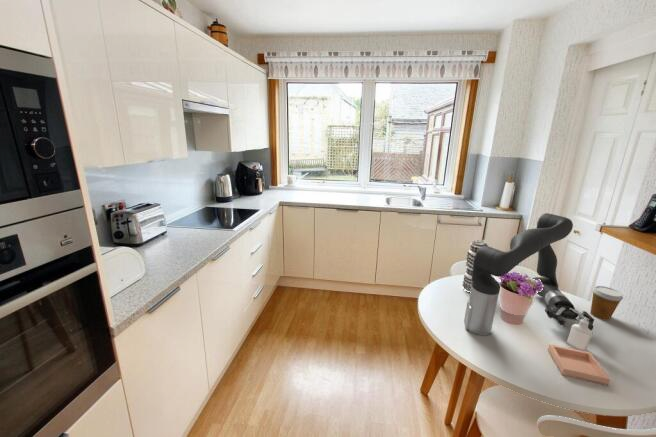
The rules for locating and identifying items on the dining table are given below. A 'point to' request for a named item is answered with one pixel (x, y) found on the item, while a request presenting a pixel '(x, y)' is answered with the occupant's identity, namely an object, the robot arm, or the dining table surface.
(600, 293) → the disposable coffee cup
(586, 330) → the eye dropper bottle
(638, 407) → the dining table surface
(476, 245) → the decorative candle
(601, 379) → the terracotta caddy
